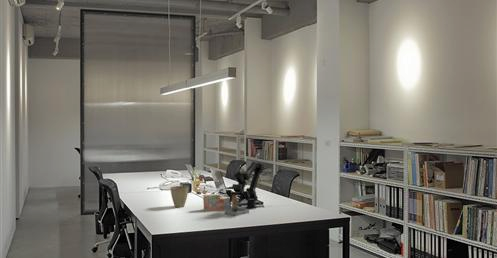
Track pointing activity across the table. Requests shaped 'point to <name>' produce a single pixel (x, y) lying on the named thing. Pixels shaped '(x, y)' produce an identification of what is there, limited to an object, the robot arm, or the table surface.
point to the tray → (241, 211)
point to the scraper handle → (234, 203)
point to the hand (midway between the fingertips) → (234, 202)
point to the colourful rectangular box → (216, 202)
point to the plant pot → (179, 195)
